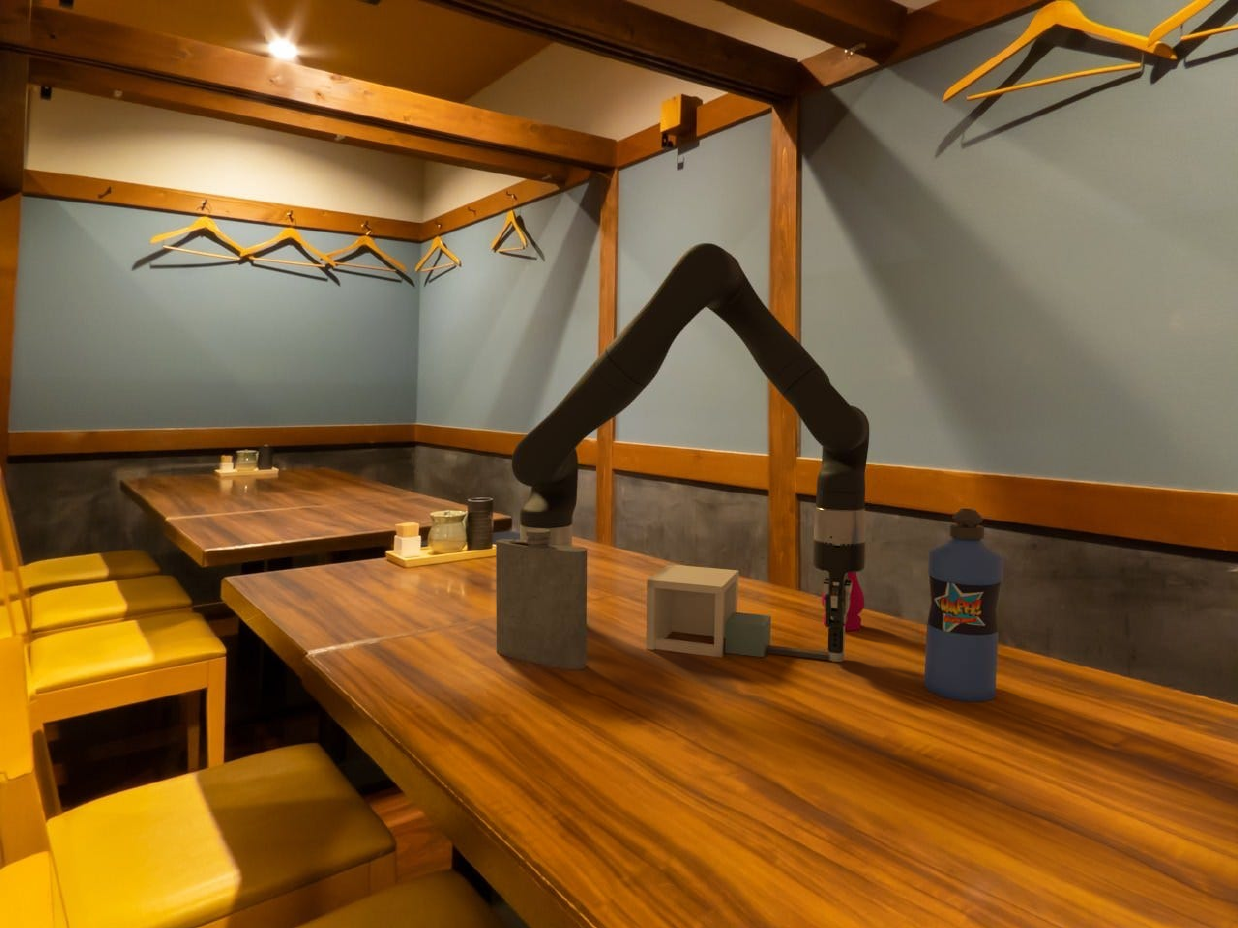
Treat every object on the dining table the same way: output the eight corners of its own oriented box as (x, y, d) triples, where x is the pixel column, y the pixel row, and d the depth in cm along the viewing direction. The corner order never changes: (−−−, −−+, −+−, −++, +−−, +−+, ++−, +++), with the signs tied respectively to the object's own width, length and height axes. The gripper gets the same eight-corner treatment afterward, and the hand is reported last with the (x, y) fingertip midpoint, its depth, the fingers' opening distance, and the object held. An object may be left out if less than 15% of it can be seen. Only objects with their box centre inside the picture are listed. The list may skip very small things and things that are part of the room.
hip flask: (590, 664, 114) (591, 531, 113) (575, 672, 111) (576, 536, 109) (505, 646, 122) (504, 522, 120) (488, 654, 118) (488, 526, 117)
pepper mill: (865, 633, 131) (870, 517, 129) (822, 630, 132) (826, 515, 131) (861, 621, 138) (865, 511, 136) (819, 618, 139) (823, 509, 138)
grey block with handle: (725, 652, 120) (726, 602, 119) (733, 641, 126) (734, 593, 125) (842, 666, 114) (843, 613, 113) (845, 654, 120) (846, 604, 119)
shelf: (646, 648, 122) (647, 579, 121) (668, 628, 133) (669, 564, 132) (720, 658, 117) (722, 586, 116) (737, 636, 129) (738, 570, 128)
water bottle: (992, 707, 100) (1002, 516, 97) (916, 692, 104) (924, 510, 102) (1000, 685, 107) (1009, 508, 105) (929, 672, 112) (937, 503, 110)
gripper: (818, 528, 123) (816, 633, 125) (808, 543, 110) (805, 660, 112) (867, 531, 121) (864, 639, 122) (862, 547, 108) (859, 667, 109)
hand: (836, 648), depth 117 cm, fingers closed on grey block with handle, 2 cm apart
